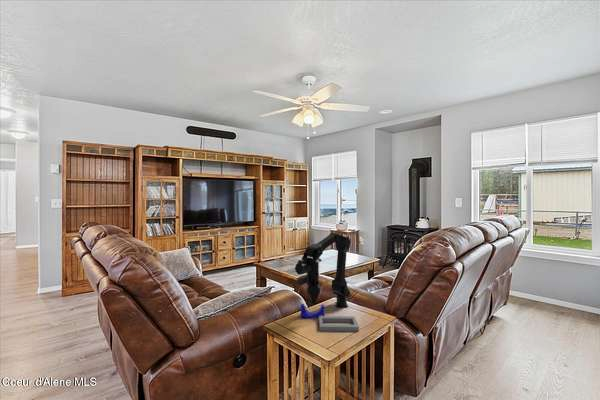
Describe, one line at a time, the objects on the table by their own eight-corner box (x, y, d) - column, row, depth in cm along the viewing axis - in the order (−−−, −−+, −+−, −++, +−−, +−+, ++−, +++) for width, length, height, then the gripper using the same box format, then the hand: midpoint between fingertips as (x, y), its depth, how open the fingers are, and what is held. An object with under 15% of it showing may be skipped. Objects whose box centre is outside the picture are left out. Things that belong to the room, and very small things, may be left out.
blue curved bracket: (300, 318, 150) (300, 307, 150) (301, 315, 155) (301, 303, 155) (324, 319, 149) (324, 307, 149) (324, 316, 154) (324, 304, 154)
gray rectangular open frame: (318, 319, 148) (318, 316, 148) (354, 320, 148) (354, 316, 148) (320, 330, 136) (320, 326, 136) (358, 331, 136) (358, 327, 136)
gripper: (297, 266, 160) (297, 294, 161) (297, 275, 142) (297, 307, 142) (318, 266, 160) (318, 294, 161) (320, 275, 142) (320, 307, 142)
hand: (313, 300), depth 151 cm, fingers open, 9 cm apart
